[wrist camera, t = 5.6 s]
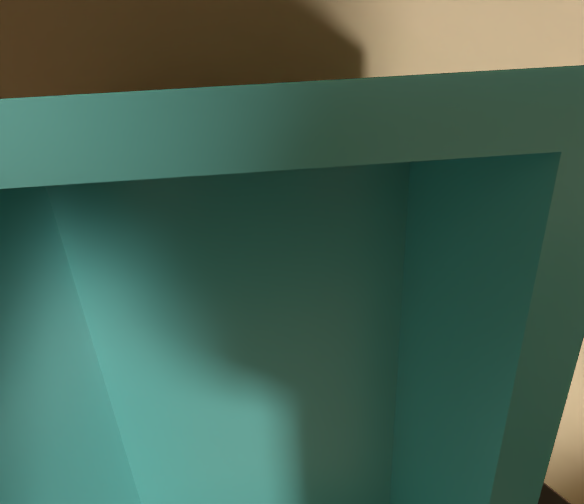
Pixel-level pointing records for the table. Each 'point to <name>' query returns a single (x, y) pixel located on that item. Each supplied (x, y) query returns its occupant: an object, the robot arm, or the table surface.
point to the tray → (291, 290)
